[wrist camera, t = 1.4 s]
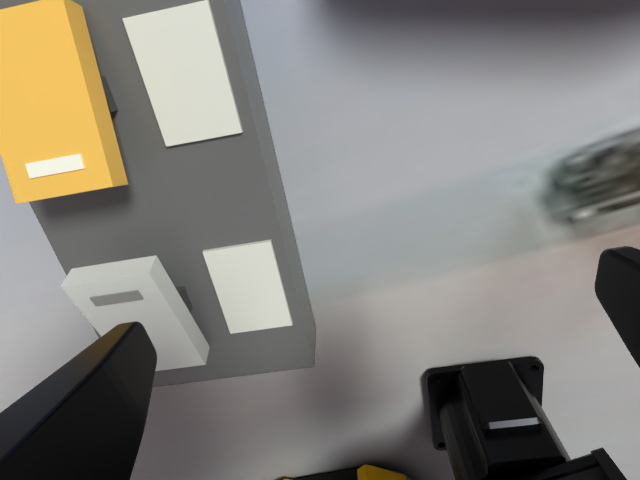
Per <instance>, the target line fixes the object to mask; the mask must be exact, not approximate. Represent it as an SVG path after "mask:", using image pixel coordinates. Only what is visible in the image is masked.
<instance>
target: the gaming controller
mask: <svg viewBox="0 0 640 480" xmlns="http://www.w3.org/2000/svg"><path fill="white" fill-rule="evenodd" d="M283 480H291V479H283ZM296 480H412V479H409V478H408V477H407V476H406V475H405V474H403V473H401V472H396V471H392V470H387V469H382V468H378V467H376V466H371V465H366V464H365V465H363V466H362V467H360V468H359V469H357V468H356V469H350V470H344V471H339V472H333V473H327V474H321V475H316V476H310V477H304V478H299V479H296Z"/></svg>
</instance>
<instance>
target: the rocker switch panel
mask: <svg viewBox="0 0 640 480" xmlns="http://www.w3.org/2000/svg"><path fill="white" fill-rule="evenodd" d="M35 1H39V0H0V9H5V8H9V7H13V6H18V5H22V4H26V3H31V2H35ZM71 1H73V2H75V3H77V4H79V5H81V6H82V8H83V12H84V16H85V20H86V23H87V27H88V31H89V35H90V39H91V43H92V47H93V50H94V54H95V58H96V62H97V66H98V70H99V73H100V77H101V81H102V85H103V89H104V93H105V96H106V100H107V104H108V108H109V112H110V116H111V120H112V123H113V127H114V131H115V135H116V139H117V143H118V146H119V150H120V154H121V158H122V162H123V166H124V170H125V173H126V177H127V181H128V185H122V186H117V187H111V188H105V189H100V190H94V191H88V192H83V193H77V194H72V195H66V196H60V197H55V198H49V199H43V200H38V201H31V202H29V203H30V205H31V207H32V209H33V211H34V213H35V215H36V217H37V219H38V221H39V222H40V224H41V226H42V228H43V230H44V232H45V234H46V236H47V238H48V240H49V242H50V244H51V246H52V248H53V250H54V252H55V254H56V256H57V258H58V259H59V261H60V263H61V265H62V267H63V269H64V271H65V273H66V275H68V273H69V272H70V270H71V269H73V268H79V267H85V266H92V265H98V264H104V263H111V262H117V261H123V260H130V259H136V258H142V257H149V256H155V255H157V257H158V259H159V260H160V262H161V264H162V266H163V267H164V269H165V271H166V272H167V274H168V276H169V278H170V279H171V281H172V283H173V284H174V286H175V288H176V290H177V291H178V293H179V295H180V296H181V298H182V300H183V302H184V303H185V305H186V307H187V308H188V310H189V312H190V314H191V315H192V317H193V319H194V321H195V322H196V324H197V326H198V327H199V329H200V331H201V333H202V334H203V336H204V338H205V339H206V341H207V343H208V345H209V346H210V348H209V352H208V357H207V361H206V365H199V366H192V367H184V368H176V369H168V370H161V371H155V376H154V381H153V386H152V387H157V386H165V385H173V384H181V383H189V382H197V381H205V380H213V379H221V378H229V377H237V376H245V375H253V374H261V373H269V372H277V371H285V370H293V369H301V368H309V367H314V363H315V343H316V326H315V322H314V317H313V313H312V309H311V304H310V300H309V296H308V291H307V287H306V283H305V279H304V274H303V270H302V266H301V261H300V257H299V253H298V248H297V244H296V240H295V235H294V231H293V227H292V223H291V218H290V214H289V210H288V205H287V201H286V197H285V192H284V188H283V184H282V179H281V175H280V171H279V166H278V162H277V158H276V154H275V149H274V145H273V141H272V136H271V132H270V128H269V123H268V119H267V115H266V110H265V106H264V102H263V97H262V93H261V89H260V85H259V80H258V76H257V72H256V67H255V63H254V59H253V54H252V50H251V46H250V41H249V37H248V33H247V28H246V24H245V20H244V16H243V11H242V7H241V3H240V0H71ZM93 328H94V327H93ZM94 330H95V332H96V334H97V335H98V337H99V338H101V335H100V334H99V333H98V332H97V331H96V329H95V328H94Z"/></svg>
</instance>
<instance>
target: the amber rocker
mask: <svg viewBox="0 0 640 480" xmlns="http://www.w3.org/2000/svg"><path fill="white" fill-rule="evenodd" d="M0 154H1V157H2V160H3V163H4V166H5V170H6V173H7V176H8V179H9V182H10V186H11V189H12V192H13V195H14V198H15V201H16V204H19V203H25V202H31V201H38V200H43V199H49V198H55V197H60V196H66V195H72V194H77V193H83V192H88V191H94V190H100V189H105V188H111V187H117V186H122V185H128V181H127V177H126V173H125V170H124V166H123V162H122V158H121V154H120V150H119V146H118V143H117V139H116V135H115V131H114V127H113V123H112V120H111V116H110V112H109V108H108V104H107V100H106V96H105V93H104V89H103V85H102V81H101V77H100V73H99V70H98V66H97V62H96V58H95V54H94V50H93V47H92V43H91V39H90V35H89V31H88V27H87V23H86V20H85V16H84V12H83V8H82V6H81V5H79V4H77V3H75V2H73V1H71V0H39V1H35V2H31V3H26V4H22V5H18V6H13V7H9V8H5V9H0Z"/></svg>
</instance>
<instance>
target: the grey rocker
mask: <svg viewBox="0 0 640 480" xmlns="http://www.w3.org/2000/svg"><path fill="white" fill-rule="evenodd" d="M60 287H61V289H62V290H63V291H64V292H65V293H66V295H67V296H68V297H69V298H70V299H71V301H72V302H73V303H74V304H75V305H76V307H77V308H78V309H79V310H80V311H81V313H82V314H83V315H84V316H85V317H86V319H87V320H88V321H89V322H90V323H91V325H92V326H93V327H94V328H95V329H96V331H97V332H98V333H99V334H100V335H101V337H102V336H103V335H104V334H106V333H107V332H108V331H110V330H111V329H112V328H114V327H115V326H117V325H118V324H122V323H128V322H135V321H137V322H140V323H141V324H142V325H143V326H144V328H145V330H146V332H147V334H148V336H149V338H150V340H151V342H152V343H153V345H154V347H155V350H156V353H157V365H156V370H155V371H161V370H168V369H176V368H184V367H192V366H199V365H206V361H207V357H208V352H209V348H210V346H209V345H208V343H207V341H206V339H205V338H204V336H203V334H202V333H201V331H200V329H199V327H198V326H197V324H196V322H195V321H194V319H193V317H192V315H191V314H190V312H189V310H188V308H187V307H186V305H185V303H184V302H183V300H182V298H181V296H180V295H179V293H178V291H177V290H176V288H175V286H174V284H173V283H172V281H171V279H170V278H169V276H168V274H167V272H166V271H165V269H164V267H163V266H162V264H161V262H160V260H159V259H158V257H157V255H155V256H149V257H142V258H136V259H130V260H123V261H117V262H111V263H104V264H98V265H92V266H85V267H79V268H73V269H71V270H70V272H69V273H68V275H67V277H66V278H65V280H64V281H63V283H62V284H61V286H60Z"/></svg>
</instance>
